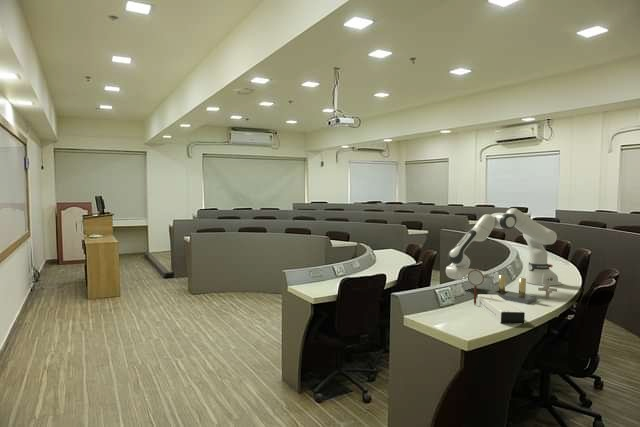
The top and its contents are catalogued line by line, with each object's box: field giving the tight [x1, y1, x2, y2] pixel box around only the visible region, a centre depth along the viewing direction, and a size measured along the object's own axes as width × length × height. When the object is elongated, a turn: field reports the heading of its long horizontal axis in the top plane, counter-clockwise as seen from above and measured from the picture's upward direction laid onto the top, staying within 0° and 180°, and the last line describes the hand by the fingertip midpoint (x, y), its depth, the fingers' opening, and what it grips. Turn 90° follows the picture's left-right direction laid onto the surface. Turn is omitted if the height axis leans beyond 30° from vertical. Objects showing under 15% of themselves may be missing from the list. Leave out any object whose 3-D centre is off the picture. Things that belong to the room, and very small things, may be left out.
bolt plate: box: [487, 277, 538, 305], centre depth 246 cm, size 24×12×13 cm, turn 42°
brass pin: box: [498, 274, 506, 294], centre depth 251 cm, size 4×4×13 cm
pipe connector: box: [537, 281, 558, 299], centre depth 248 cm, size 10×10×10 cm
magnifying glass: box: [468, 269, 485, 306], centre depth 230 cm, size 9×2×20 cm, turn 57°
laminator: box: [476, 293, 526, 325], centre depth 216 cm, size 34×12×6 cm, turn 178°
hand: (490, 278), depth 256 cm, fingers open, 8 cm apart
